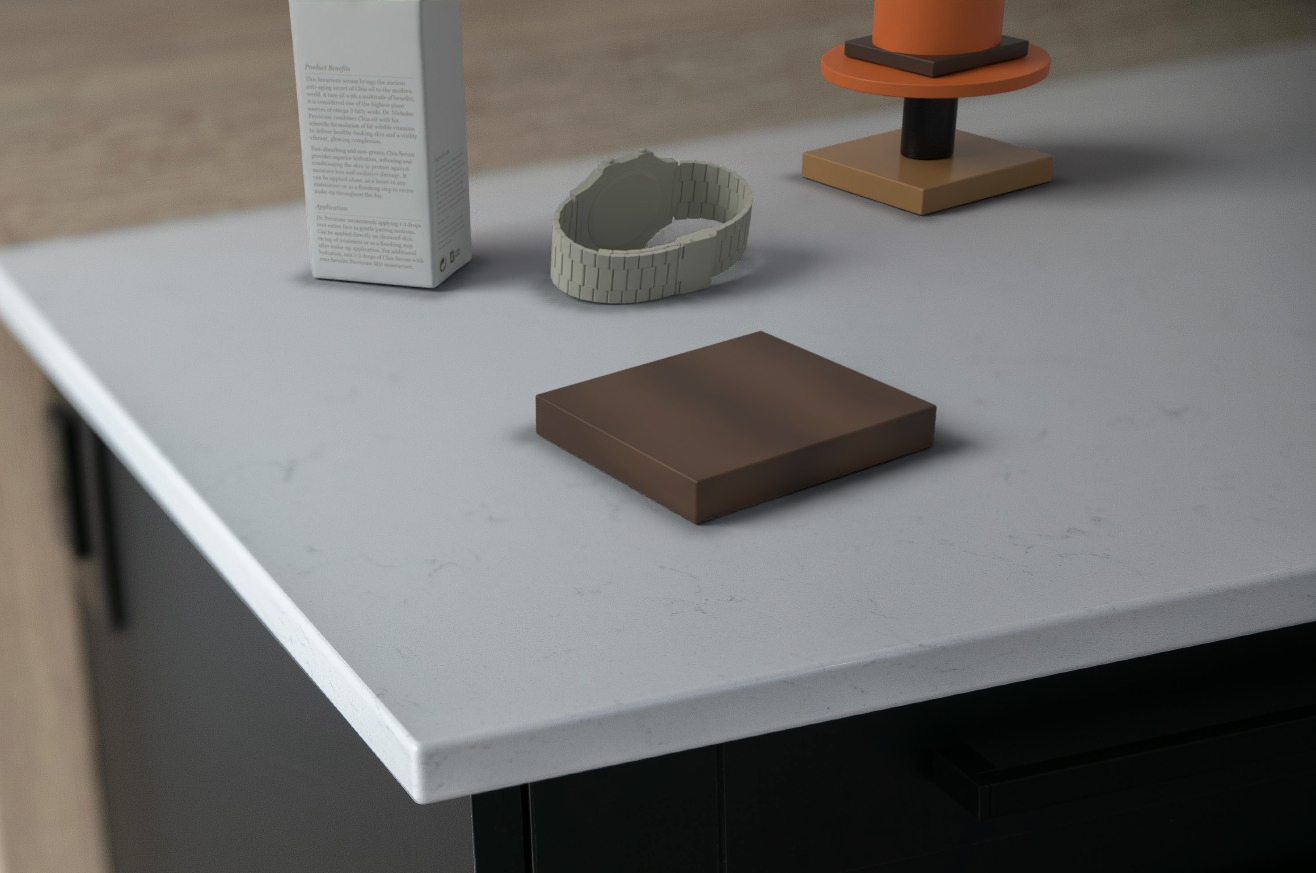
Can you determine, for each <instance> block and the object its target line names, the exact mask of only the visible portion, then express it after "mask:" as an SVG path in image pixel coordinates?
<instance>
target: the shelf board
mask: <svg viewBox="0 0 1316 873" xmlns="http://www.w3.org/2000/svg"><path fill="white" fill-rule="evenodd" d="M937 410H938V406H937V405H936V404H935V403H932V402H930V401H927V400H926V399H923V398H920V397H918V396H915V395H913V394H911V393H908V392H907V391H904V390H901V389H899V388H897V387H895V386H892V385H889V384H887V383H885V382H883V381H881V380H878V379H876V378H873V377H871V376H868V375H866V374H864V373H861V372H859V371H856V370H855V369H852V368H850V367H847V366H845V365H843V364H840V363H838V362H835V361H833V360H831V359H829V358H827V357H824V356H821V355H819V354H817V353H814V352H812V351H810V350H807V349H805V348H803V347H801V346H798V345H796V344H793V343H791V342H789V341H787V340H784V339H782V338H780V337H778V336H774V335H773V334H771V333H768V332H765V331H763V330H758V331H755V332H750V333H748V334H743V335H740V336H737V337H733V338H729V339H726V340H723V341H720V342H716V343H712V344H709V345H705V346H702V347H699V348H695V349H692V350H688V351H684V352H680V353H677V354H673V355H670V356H667V357H663V358H660V359H657V360H653V361H649V362H646V363H643V364H639V365H635V366H631V367H629V368H625V369H621V370H618V371H614V372H611V373H608V374H603V375H600V376H597V377H593V378H590V379H586V380H582V381H580V382H576V383H572V384H569V385H566V386H562V387H558V388H555V389H552V390H548V391H544V392H541V393H537V394H536V395H535V433H536V435H538V436H540V437H542V438H543V439H544V440H547V441H548V442H551V443H552V444H554V445H555V446H557V447H559V448H561V449H562V450H565V451H566V452H568V453H570V454H571V455H573V456H575V457H577V458H578V459H581V460H582V461H584V462H586V463H587V464H589V465H590V466H593V467H594V468H596V469H598V470H599V471H601V472H603V473H605V474H607V475H609V476H611V477H612V478H614V479H615V480H617V481H619V482H621V483H623V484H624V485H626V486H628V487H630V488H631V489H633V490H634V491H637V492H638V493H641V494H642V495H644V496H646V497H647V498H649V499H651V500H653V501H655V502H656V503H658V504H660V505H661V506H663V507H665V508H667V509H669V510H670V511H672V512H674V513H675V514H678V515H679V516H681V517H683V518H684V519H686V520H688V521H690V522H691V523H693V524H700V523H703V522H707V521H710V520H713V519H716V518H718V517H719V518H720V517H722V516H725V515H729V514H731V513H734V512H737V511H740V510H743V509H746V508H749V507H752V506H755V505H758V504H761V503H764V502H767V501H770V500H774V499H776V498H779V497H782V496H785V495H789V494H791V493H794V492H797V491H800V490H803V489H806V488H810V487H813V486H817V485H819V484H822V483H825V482H827V481H830V480H834V479H836V478H841V477H843V476H846V475H849V474H852V473H855V472H858V471H861V470H865V469H867V468H870V467H873V466H877V465H880V464H882V463H885V462H889V461H891V460H893V459H897V458H900V457H903V456H906V455H909V454H912V453H915V452H918V451H921V450H924V449H928V448H930V447H933V446H934V443H935V431H936V420H937Z"/></svg>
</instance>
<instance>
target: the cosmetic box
mask: <svg viewBox="0 0 1316 873" xmlns="http://www.w3.org/2000/svg"><path fill="white" fill-rule="evenodd" d="M288 7H289V18H290V29H291V39H292V52H293V62H294V74H295V87H296V100H297V110H298V111H297V112H298V123H299V124H298V125H299V135H300V148H301V160H302V174H303V186H304V199H305V200H304V201H305V212H306V224H307V225H306V226H307V233H308V234H307V235H308V247H309V262H310V270H311V271H310V272H311V275H312V277H313V278H315V279H325V280H326V279H327V280H336V281H337V280H338V281H349V282H360V283H372V284H383V285H394V286H403V287H404V286H405V287H416V288H426V289H434V288H436V287H438V286H439V285H441V284H442V283H443V282H444V281H446V280H447V279H448V278H449V277H450V276H452V275H453V274H454V273H455V272H457V271H458V270H459V269H460V268H462V267H463V266H465V265H466V264H467V263H468V262H470V261H471V259H472V255H473V249H472V231H471V230H472V228H471V203H470V202H471V201H470V200H471V199H470V180H469V160H468V157H469V156H468V138H467V137H468V136H467V114H466V111H467V110H466V91H465V90H466V89H465V69H464V68H465V67H464V66H465V64H464V43H463V24H462V1H461V0H288Z"/></svg>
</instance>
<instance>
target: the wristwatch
mask: <svg viewBox="0 0 1316 873" xmlns="http://www.w3.org/2000/svg"><path fill="white" fill-rule="evenodd" d="M753 201H754V193H753V189H752V186H751V185H750V184H749V183H748V181H747V180H746V179H745V177H743V176H742V175H740V174H739V173H738V172H736V171H735V170H732V169H730V168H728V167H726V166H723V165H720V164H719V163H718V164H717V163H715V162H712V161H711V162H710V161H708V162H707V161H704V160H703V161H702V160H698V159H697V160H691V159H690V160H689V159H688V160H687V159H686V160H685V159H681V160H679V161H678V160H676V159H675V158H674V157H659V156H656V155H655V153H654V152H653V151H652V150H650V149H649V148H648V147H647V146H646V147H645V146H644V147H643V146H642V147H640V148H638V149H635V150H633V151H632V152H631V153H628V154H625V155H622V156H619V157H616V158H615V157H608V158H606V159H604V160H602V161H599V163H598V164H597V167H596V168H594V169H593V170H592V171H591V172H590V173H589V174H588V175H587V177H586V178H585V179H584V180H582V182H580V183H579V184H578V185H577V186H576V187H574V188H573V189H571V190H570V191H569V196H566V198H565V199H564V200H562V201H561V203H559V204H558V206H557V208H556V209H555V211H554V213H553V220H552V234H551V235H552V236H551V253H550V254H551V256H550V279H551V281H552V283H553V284H554V286H556V287H557V288H558V290H560V291H562V292H563V293H564V294H568V296H571V297H573V298H577V299H579V298H580V300H583V301H589V302H594V303H602V304H634V303H642V302H648V301H654V300H659V299H662V298H667V297H670V296H674V295H684V294H689V293H693V292H696V291H700V290H704V289H707V288H709V287H710V286H711V285H712V278H714V277H716V276H719V275H720V274H722V273H723V272H726V271H727V270H729V269H730V268H732V267H733V266H734V265H736V264H737V263H738V262H739V261H740V260H741V259H742V258H743V256H744V254H745V252H746V251H747V248H748V240H749V233H750V226H751V218H752V211H753V203H754V202H753ZM673 219H674V220H675V221H682V220H700V219H701V220H708V221H715V222H718V223H720V224H721V225H718V226H716V227H713V226H710V227H707V228H703V229H701V230H698V231H695V232H691V233H688V234H686V235H682V236H679V237H677V238H676V241H672V242H668V243H666V244H660V245H655V246H652V247H646V246H647V244H648V243H649V242H650V241H651V240H652V239H653V238H654V237H655V236H656V235H657V234H658V233H659V231H661V230H663V229H664V228H666V227H668V226H670V225H671V224H673Z"/></svg>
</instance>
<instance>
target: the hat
mask: <svg viewBox="0 0 1316 873" xmlns="http://www.w3.org/2000/svg"><path fill="white" fill-rule="evenodd" d="M1005 5H1006V0H874V5H873V22H872V34H870V35H865V36H861V37H857V38H852V39H848V40H845V42H844V43H841V44H839V45H837V46H834V47H832V48H829V50H827V51H825V52H824V53H823V55H822V56H821V58H820V60H821V61H820V74H821V76H822V78H824V79H825V80H826V81H827V82H828V83H831V84H833V85H835V86H838V87H840V88H842V89H843V88H844V89H846V90H850V91H854V92H858V93H863V94H870V95H875V96H884V97H893V98H903V99H904V98H930V99H932V98H959V99H964V98H965V99H966V98H977V97H985V96H992V95H998V94H999V95H1000V94H1006V93H1009V92H1010V93H1011V92H1015V91H1019V90H1022V89H1026V88H1028V87H1032V86H1034V85H1037V84H1039V83H1040V82H1042V81H1043V80H1045V79H1046V78H1047V77H1048V76H1049V75H1050V70H1051V62H1052V57H1051V55H1050V53H1049V52H1048V51H1047V50H1045V49H1043V48H1042V47H1040V46H1037V45H1035V44H1033V43H1030V41H1029V40H1028V39H1023V38H1018V37H1014V36H1009V35H1004V34H1003V25H1004V16H1005V15H1004V14H1005Z"/></svg>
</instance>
